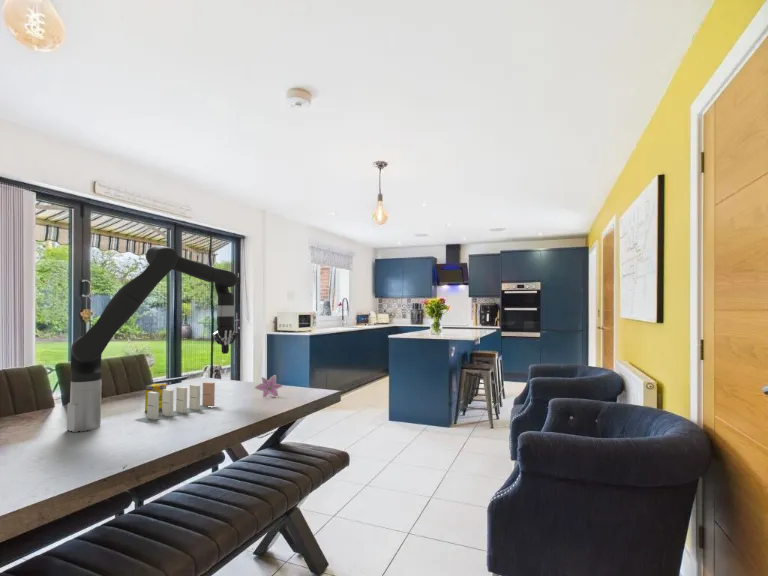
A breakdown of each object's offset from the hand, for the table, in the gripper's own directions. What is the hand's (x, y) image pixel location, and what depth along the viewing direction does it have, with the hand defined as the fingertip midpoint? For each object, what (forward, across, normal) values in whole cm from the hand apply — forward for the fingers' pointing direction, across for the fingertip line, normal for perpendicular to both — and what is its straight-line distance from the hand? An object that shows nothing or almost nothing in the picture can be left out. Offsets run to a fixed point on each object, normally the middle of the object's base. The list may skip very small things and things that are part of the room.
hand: (225, 353), depth 195 cm
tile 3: (+22, -21, 0) cm, 30 cm away
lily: (+23, +21, -6) cm, 31 cm away
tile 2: (+22, -15, 0) cm, 27 cm away
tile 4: (+22, -27, 0) cm, 35 cm away
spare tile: (+22, -8, 0) cm, 24 cm away
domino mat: (+22, -22, 0) cm, 32 cm away
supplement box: (+23, -25, +12) cm, 36 cm away
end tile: (+22, -33, 0) cm, 40 cm away
